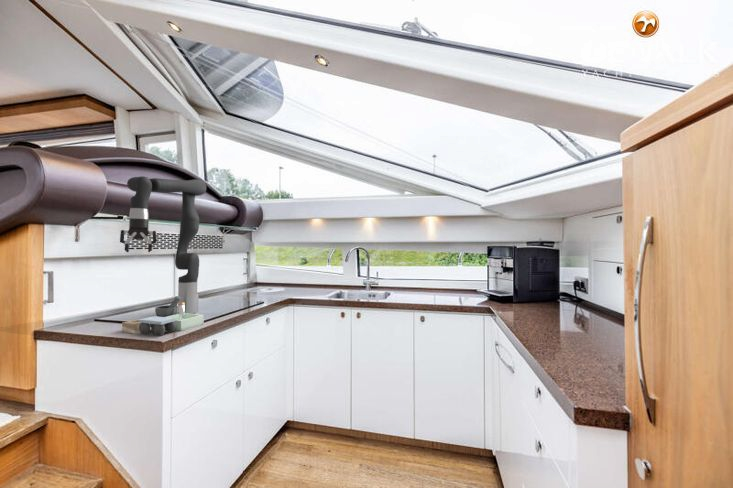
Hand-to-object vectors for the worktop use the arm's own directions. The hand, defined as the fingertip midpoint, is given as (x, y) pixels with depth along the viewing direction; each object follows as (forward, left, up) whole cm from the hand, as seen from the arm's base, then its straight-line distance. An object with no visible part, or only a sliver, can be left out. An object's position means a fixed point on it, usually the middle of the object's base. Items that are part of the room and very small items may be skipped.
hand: (138, 252), depth 155 cm
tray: (-2, +24, -34) cm, 42 cm away
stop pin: (-2, +24, -33) cm, 41 cm away
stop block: (+10, +12, -34) cm, 37 cm away
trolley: (+10, +24, -34) cm, 43 cm away
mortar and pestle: (-9, +9, -34) cm, 37 cm away
